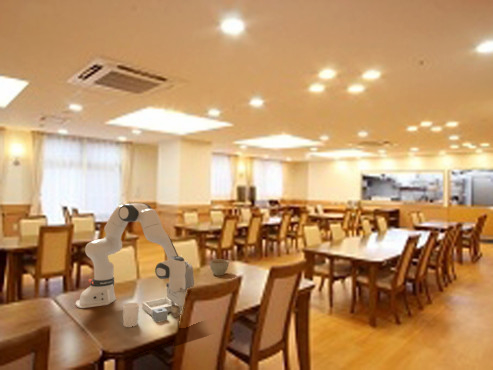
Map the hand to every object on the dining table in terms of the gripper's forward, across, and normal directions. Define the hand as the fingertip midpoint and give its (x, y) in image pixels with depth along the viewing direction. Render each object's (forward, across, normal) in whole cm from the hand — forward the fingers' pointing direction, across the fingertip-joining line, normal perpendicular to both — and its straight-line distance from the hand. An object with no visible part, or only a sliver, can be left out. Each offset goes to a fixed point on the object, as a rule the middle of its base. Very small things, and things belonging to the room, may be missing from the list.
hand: (177, 310), depth 179 cm
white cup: (+2, +2, +25) cm, 25 cm away
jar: (+2, +40, -23) cm, 46 cm away
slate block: (+2, 0, +10) cm, 10 cm away
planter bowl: (+2, +60, -67) cm, 90 cm away
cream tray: (+2, +14, +5) cm, 15 cm away
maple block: (+2, 0, 0) cm, 2 cm away
